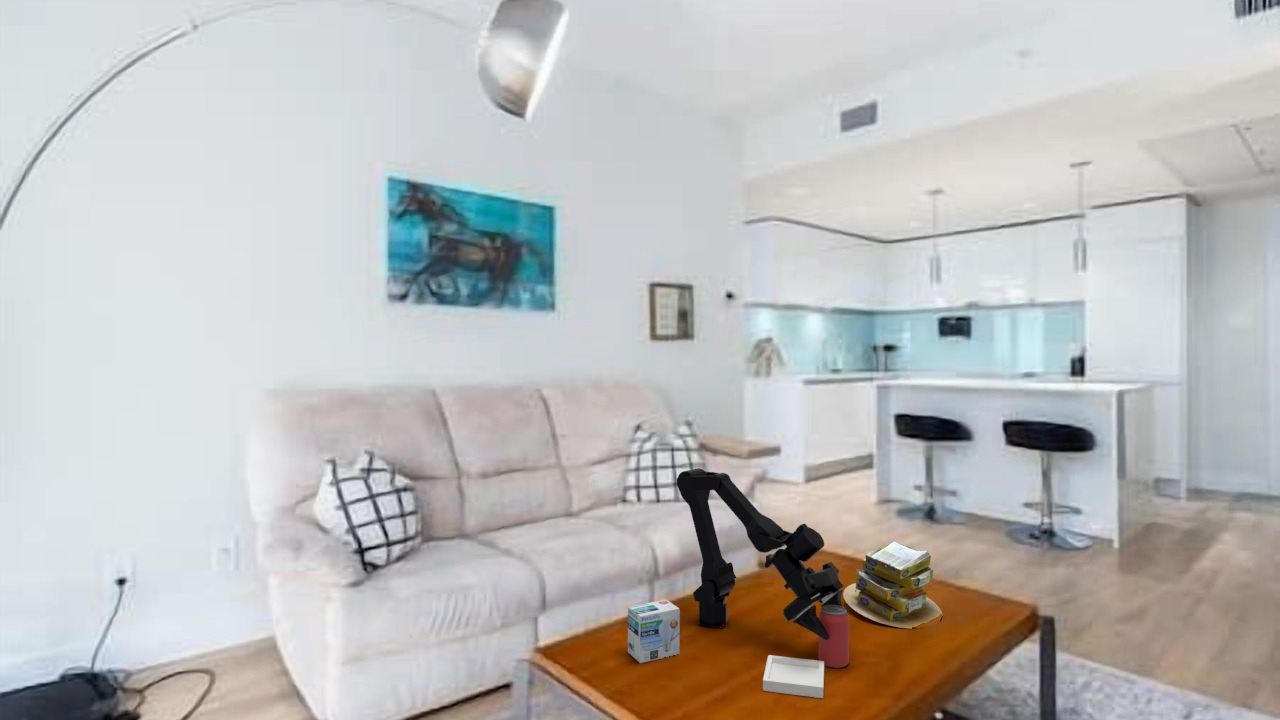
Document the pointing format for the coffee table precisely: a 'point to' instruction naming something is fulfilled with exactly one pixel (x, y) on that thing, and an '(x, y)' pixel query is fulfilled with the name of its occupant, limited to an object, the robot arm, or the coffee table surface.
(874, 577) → the stacked boxes on plate
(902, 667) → the coffee table surface
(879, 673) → the coffee table surface
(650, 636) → the light bulb box
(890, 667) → the coffee table surface
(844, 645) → the beer can
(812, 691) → the dock tray
